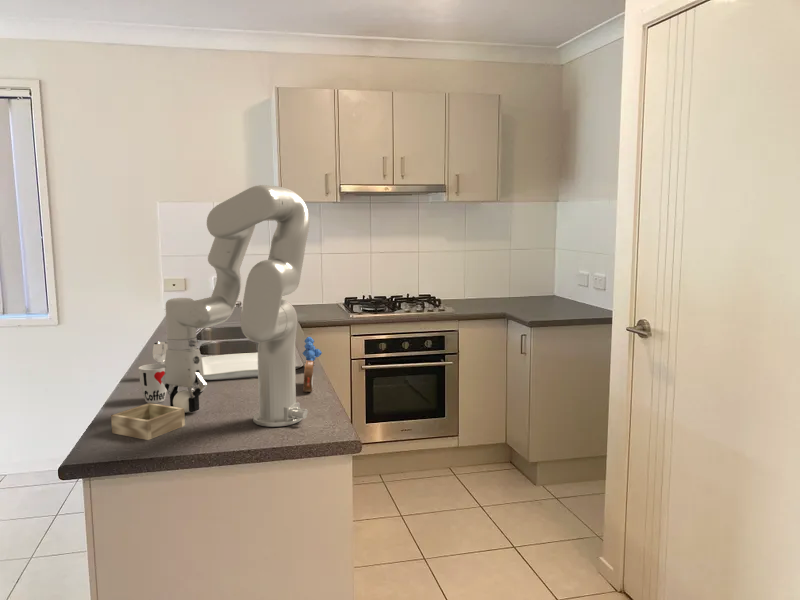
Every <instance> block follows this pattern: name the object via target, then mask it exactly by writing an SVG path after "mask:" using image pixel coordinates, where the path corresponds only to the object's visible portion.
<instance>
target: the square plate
mask: <svg viewBox="0 0 800 600" xmlns="http://www.w3.org/2000/svg"><path fill="white" fill-rule="evenodd" d="M201 358H202V364H203V373H204V380H205V381H217V380H218V381H221V380H235V379H236V380H237V379H245V378H246V379H248V378H258V352H247V353H246V352H245V353H228V354H219V355H218V354H216V355H210V356H209V355H208V356H201Z"/></svg>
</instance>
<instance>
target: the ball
mask: <svg viewBox="0 0 800 600" xmlns="http://www.w3.org/2000/svg"><path fill="white" fill-rule="evenodd" d="M189 398H190V394H189V391H188V389H185V390H183V389H182V390H180V391H178V393H177V394H176V395H175V396H174V398H173V406H174V407H178V408H184V414H185V413H190V412H189Z"/></svg>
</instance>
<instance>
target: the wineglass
mask: <svg viewBox="0 0 800 600" xmlns="http://www.w3.org/2000/svg"><path fill="white" fill-rule="evenodd" d="M166 350H167V341H158V342H154V344H153V347H152V357H153V360H154V361H156V362H158V363H160V364H165V356H166Z"/></svg>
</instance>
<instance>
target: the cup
mask: <svg viewBox="0 0 800 600" xmlns="http://www.w3.org/2000/svg"><path fill="white" fill-rule="evenodd" d="M164 374H165V363H164V364H162V363H152V364H151V363H150V364H143V365H141V366H139V367H138V376H139V383H140V389H141V392H142V395H143V397H144V400H145V402H146V404H147V403H153V404H157V403H161V402H164V401H165V400H166V397H167V394H168V390H167V389H166V388H165V385H164V384H163V383H162V381H161V378H162V377H163V376H164Z"/></svg>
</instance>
